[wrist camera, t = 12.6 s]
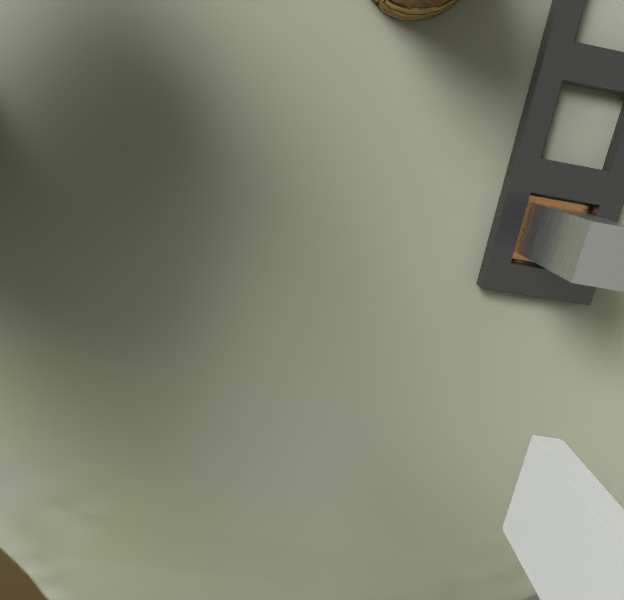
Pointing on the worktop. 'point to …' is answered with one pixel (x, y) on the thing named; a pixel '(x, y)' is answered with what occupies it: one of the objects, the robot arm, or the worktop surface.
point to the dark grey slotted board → (551, 174)
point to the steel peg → (575, 246)
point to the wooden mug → (414, 8)
